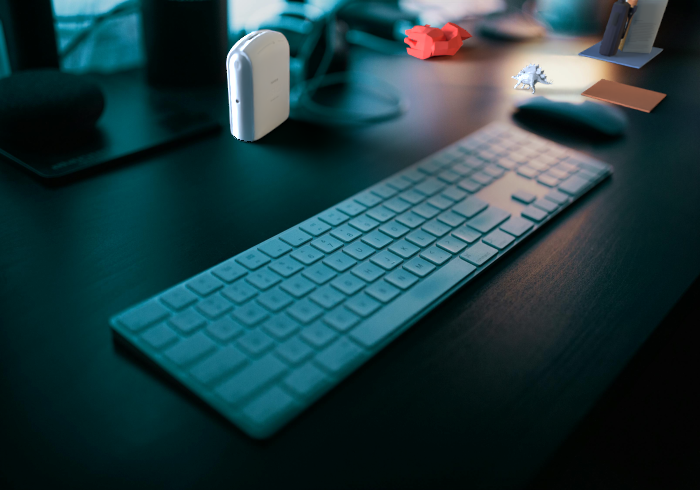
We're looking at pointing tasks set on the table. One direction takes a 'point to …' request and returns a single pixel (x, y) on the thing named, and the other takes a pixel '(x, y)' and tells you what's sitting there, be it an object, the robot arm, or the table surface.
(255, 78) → the photo printer
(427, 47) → the animal figurine
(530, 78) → the stegosaurus
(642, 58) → the slate mat
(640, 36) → the small box
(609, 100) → the terracotta mat
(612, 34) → the two-way radio
